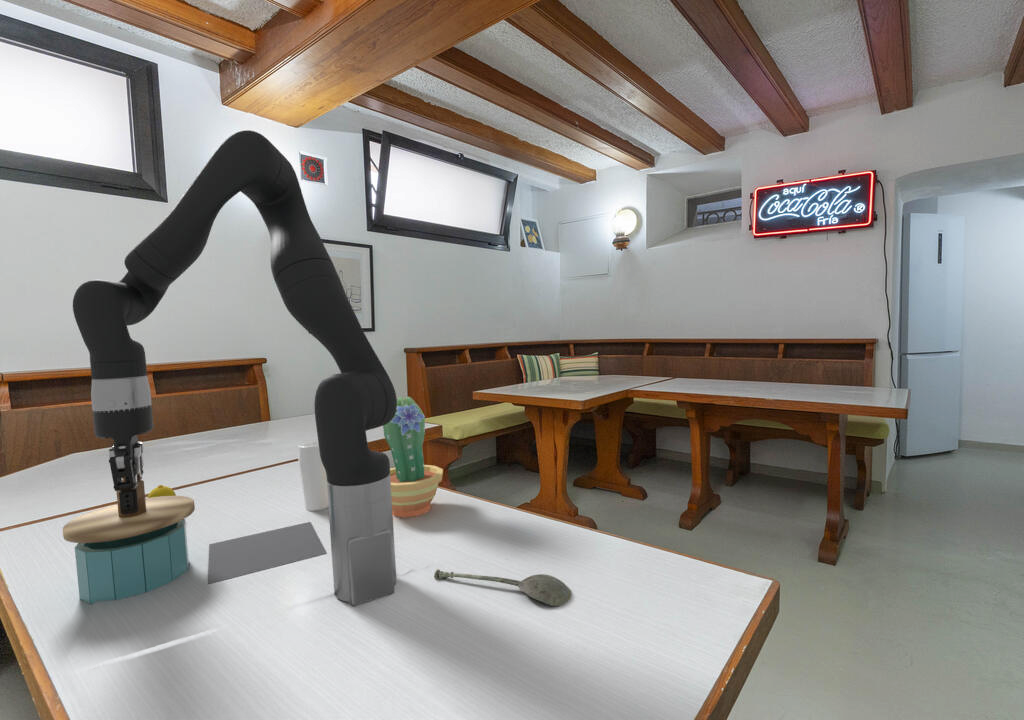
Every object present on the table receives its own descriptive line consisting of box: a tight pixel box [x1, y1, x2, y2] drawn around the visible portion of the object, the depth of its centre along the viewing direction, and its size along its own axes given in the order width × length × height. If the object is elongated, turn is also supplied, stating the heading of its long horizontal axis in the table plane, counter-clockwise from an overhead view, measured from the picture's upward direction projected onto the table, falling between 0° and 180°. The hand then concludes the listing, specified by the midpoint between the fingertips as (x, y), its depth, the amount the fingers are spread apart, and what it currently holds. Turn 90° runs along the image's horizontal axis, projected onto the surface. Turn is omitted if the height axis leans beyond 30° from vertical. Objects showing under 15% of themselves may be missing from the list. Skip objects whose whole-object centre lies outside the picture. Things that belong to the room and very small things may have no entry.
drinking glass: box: [297, 440, 329, 512], centre depth 111 cm, size 7×7×15 cm
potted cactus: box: [382, 396, 444, 518], centre depth 107 cm, size 15×15×25 cm
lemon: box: [146, 484, 177, 498], centre depth 107 cm, size 6×6×8 cm
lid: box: [62, 479, 196, 544], centre depth 80 cm, size 17×17×6 cm
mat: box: [206, 521, 328, 585], centre depth 89 cm, size 18×18×1 cm
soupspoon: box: [433, 568, 572, 607], centre depth 73 cm, size 22×3×7 cm
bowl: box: [74, 518, 190, 605], centre depth 80 cm, size 14×14×8 cm
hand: (132, 508), depth 80 cm, fingers closed on lid, 3 cm apart
